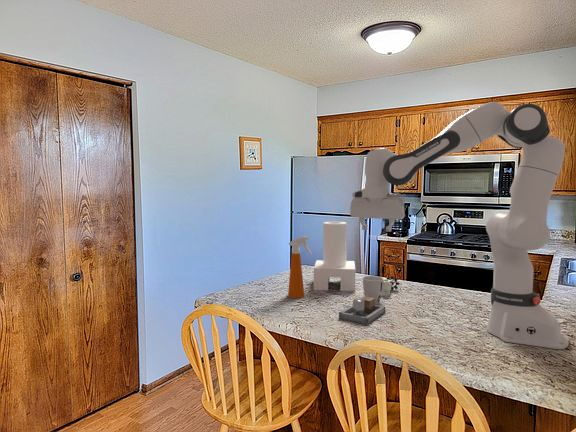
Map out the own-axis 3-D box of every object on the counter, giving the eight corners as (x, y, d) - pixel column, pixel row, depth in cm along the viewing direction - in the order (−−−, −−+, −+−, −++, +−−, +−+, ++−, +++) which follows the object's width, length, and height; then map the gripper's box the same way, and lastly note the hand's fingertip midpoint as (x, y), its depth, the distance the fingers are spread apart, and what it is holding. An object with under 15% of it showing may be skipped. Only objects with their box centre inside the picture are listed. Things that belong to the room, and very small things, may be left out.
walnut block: (374, 311, 149) (375, 298, 148) (369, 314, 145) (370, 301, 145) (363, 308, 151) (363, 296, 151) (358, 312, 148) (358, 299, 147)
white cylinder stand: (316, 279, 199) (316, 220, 197) (354, 280, 196) (354, 220, 194) (313, 289, 181) (313, 224, 178) (355, 291, 178) (355, 225, 175)
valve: (391, 297, 168) (399, 290, 178) (391, 282, 167) (399, 276, 178) (376, 295, 171) (385, 288, 182) (376, 280, 171) (385, 274, 181)
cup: (383, 305, 156) (383, 281, 156) (362, 304, 158) (362, 280, 157) (382, 299, 164) (382, 276, 164) (362, 298, 166) (363, 275, 165)
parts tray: (385, 312, 149) (385, 306, 148) (367, 324, 136) (367, 318, 136) (358, 307, 155) (358, 301, 155) (338, 318, 142) (338, 312, 142)
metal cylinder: (361, 319, 140) (361, 302, 139) (351, 317, 142) (351, 300, 142) (366, 316, 143) (366, 300, 142) (356, 314, 145) (356, 298, 145)
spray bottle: (310, 299, 165) (310, 237, 163) (285, 297, 168) (285, 236, 166) (314, 295, 172) (314, 235, 169) (291, 293, 175) (290, 234, 173)
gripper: (407, 193, 141) (407, 231, 143) (355, 192, 153) (355, 228, 155) (401, 193, 136) (400, 233, 138) (348, 193, 148) (348, 229, 150)
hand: (376, 230), depth 146 cm, fingers open, 8 cm apart
